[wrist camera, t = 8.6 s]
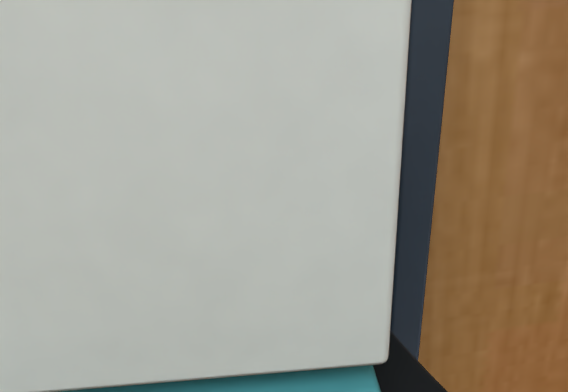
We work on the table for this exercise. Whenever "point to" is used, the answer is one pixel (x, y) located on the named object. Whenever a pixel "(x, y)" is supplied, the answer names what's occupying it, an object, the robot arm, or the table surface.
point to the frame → (419, 163)
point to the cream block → (197, 188)
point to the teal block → (268, 382)
